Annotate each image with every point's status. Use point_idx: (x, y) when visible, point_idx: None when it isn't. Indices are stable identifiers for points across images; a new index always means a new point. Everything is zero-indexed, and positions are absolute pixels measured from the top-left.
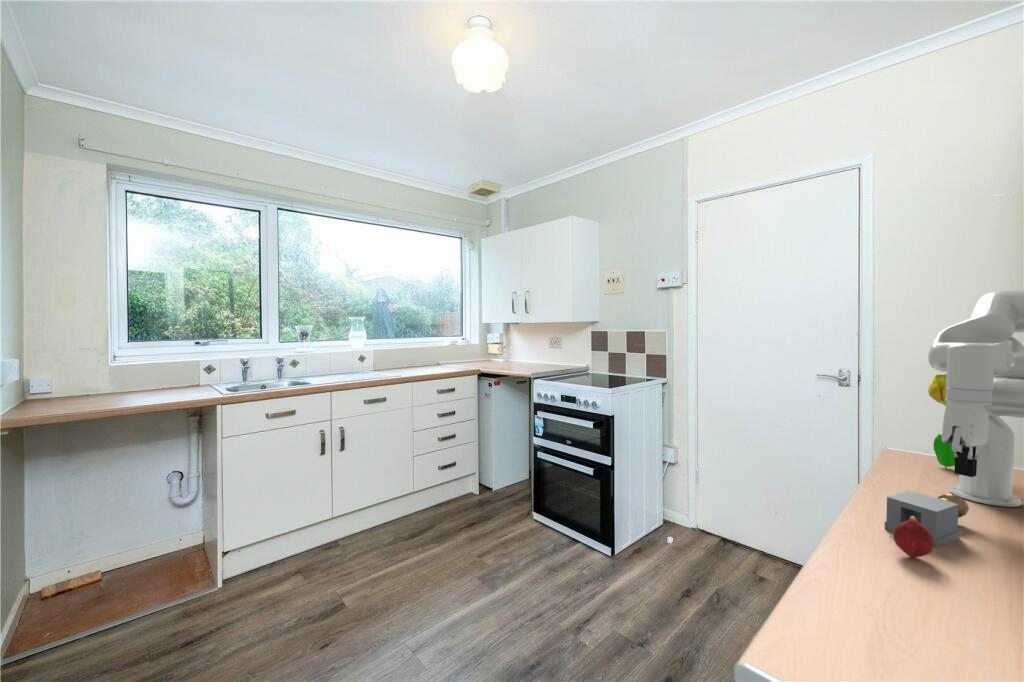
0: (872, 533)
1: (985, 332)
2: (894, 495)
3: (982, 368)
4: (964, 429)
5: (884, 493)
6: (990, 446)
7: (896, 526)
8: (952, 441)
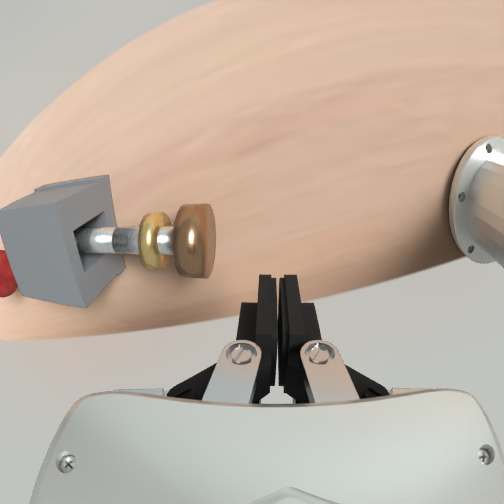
0: (19, 191)
1: None
2: (8, 212)
3: None
4: None
5: (290, 23)
6: None
7: None
8: (302, 404)
